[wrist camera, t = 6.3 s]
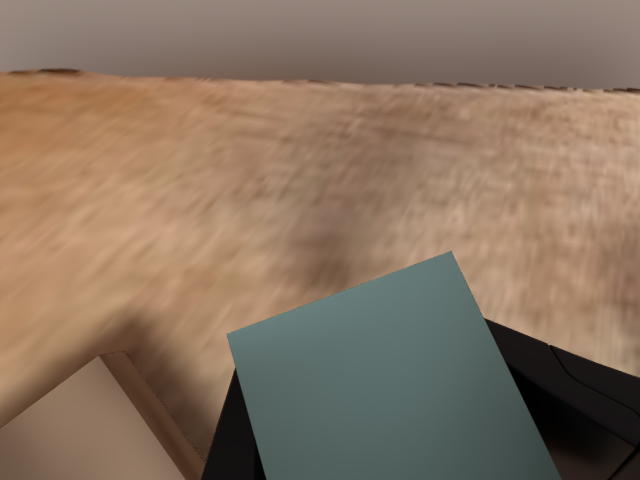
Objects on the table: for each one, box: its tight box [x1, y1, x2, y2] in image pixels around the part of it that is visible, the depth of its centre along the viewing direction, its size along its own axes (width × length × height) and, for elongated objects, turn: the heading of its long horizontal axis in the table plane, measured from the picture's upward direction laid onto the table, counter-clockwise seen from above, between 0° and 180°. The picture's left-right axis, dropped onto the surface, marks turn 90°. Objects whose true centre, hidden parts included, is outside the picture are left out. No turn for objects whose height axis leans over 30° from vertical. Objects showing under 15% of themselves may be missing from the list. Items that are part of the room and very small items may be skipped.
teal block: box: [227, 251, 562, 480], centre depth 9 cm, size 4×4×10 cm
